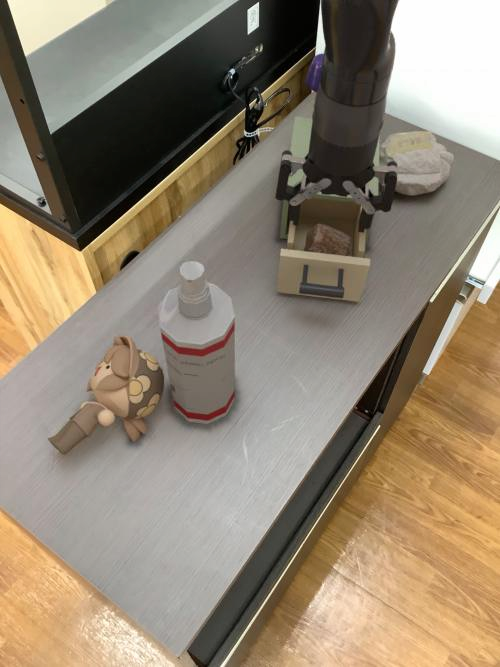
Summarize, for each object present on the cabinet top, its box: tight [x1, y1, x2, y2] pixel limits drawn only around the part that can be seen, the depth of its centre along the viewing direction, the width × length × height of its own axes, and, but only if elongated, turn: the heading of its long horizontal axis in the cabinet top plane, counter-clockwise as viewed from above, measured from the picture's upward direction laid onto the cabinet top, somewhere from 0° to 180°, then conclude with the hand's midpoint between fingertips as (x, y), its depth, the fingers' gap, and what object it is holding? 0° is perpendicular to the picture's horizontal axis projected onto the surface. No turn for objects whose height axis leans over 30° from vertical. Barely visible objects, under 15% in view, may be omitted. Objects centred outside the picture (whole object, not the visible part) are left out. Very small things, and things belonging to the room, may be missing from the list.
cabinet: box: [279, 115, 381, 248], centre depth 92 cm, size 16×13×10 cm
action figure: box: [47, 334, 165, 456], centre depth 72 cm, size 10×11×15 cm
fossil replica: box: [379, 130, 455, 196], centre depth 96 cm, size 12×8×10 cm
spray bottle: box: [157, 260, 236, 425], centre depth 67 cm, size 8×8×25 cm
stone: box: [304, 224, 351, 256], centre depth 86 cm, size 7×6×5 cm
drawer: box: [276, 198, 371, 303], centre depth 85 cm, size 19×11×8 cm, turn 172°
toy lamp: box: [305, 52, 324, 115], centre depth 96 cm, size 5×5×17 cm
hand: (328, 224), depth 82 cm, fingers open, 8 cm apart
